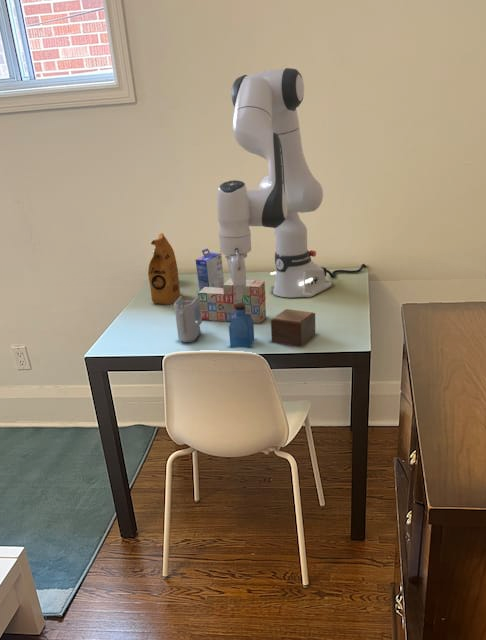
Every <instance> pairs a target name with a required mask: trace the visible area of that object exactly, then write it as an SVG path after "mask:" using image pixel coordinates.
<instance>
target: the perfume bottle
mask: <svg viewBox="0 0 486 640" xmlns="http://www.w3.org/2000/svg"><path fill="white" fill-rule="evenodd" d="M234 312H235V315H234V317H233V318H232V321H230V324H229V326H228V335H229V347H230V348H251V347H252V345H253V343H254V342H255V329H254V327H255V325H254V323H253V319H252V318H251V316H250V315H249V314H246V308H245V304H244V303H237V304H235V309H234Z"/></svg>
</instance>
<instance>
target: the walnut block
mask: <svg viewBox="0 0 486 640" xmlns="http://www.w3.org/2000/svg"><path fill="white" fill-rule="evenodd" d="M270 330H271V332H270V333H271V343H274V344H275V343H277V344H281V345H282V344H283V345H289V346H295V347H303V346H304V345H305V344H307V343H308V342H309V341H310V340H311V339H313V338H314V337H315V336H316V312H313V311H305V310H297V309H289V308H286V309H284V310H283V311H281V312H280V313H278V314H277V315H275V316H274V317H273V318H271V319H270Z"/></svg>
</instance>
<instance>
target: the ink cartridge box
mask: <svg viewBox="0 0 486 640" xmlns="http://www.w3.org/2000/svg"><path fill="white" fill-rule="evenodd" d="M201 252H202V254H203V256H200V257H199V258H197V259H195V267H196V275H197V283H198V290H199V291H201V290H202V289H203V288H204V287H214V288H223V284H225V276H224V266H223V256H222V255H223V254H222V253H219V252H218V253H217V252H210V250H209V248H204V249H202V250H201ZM206 252H207V253H206Z"/></svg>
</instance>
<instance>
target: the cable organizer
mask: <svg viewBox="0 0 486 640" xmlns="http://www.w3.org/2000/svg"><path fill="white" fill-rule="evenodd" d="M173 306H174V313H175V314H174V315H175V322H176V330H177V338H178V340H179V341H181V342H183V343H190V342H191V343H192V342H194V341H196V339H197V338H198V336H199V335H200V334H201V325H202V323H203V319H202V314H201V304H200V299H199V296H198V295H197V296H196V298H194V300H184V299H183V296H182V295H180V296H179V298H178V299H176V300H175V301H174V303H173Z"/></svg>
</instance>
